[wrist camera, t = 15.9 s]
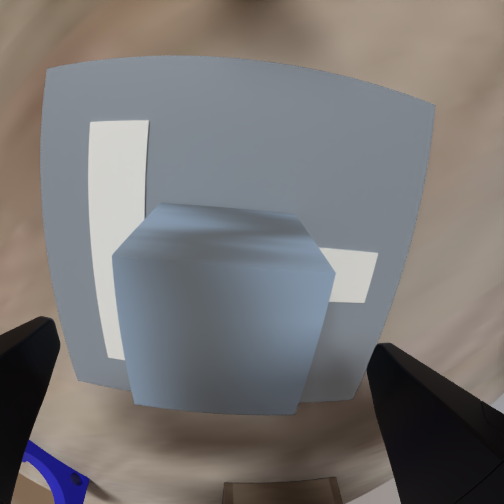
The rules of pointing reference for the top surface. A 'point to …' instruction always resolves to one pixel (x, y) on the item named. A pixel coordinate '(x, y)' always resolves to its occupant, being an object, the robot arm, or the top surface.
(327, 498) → the open brown box
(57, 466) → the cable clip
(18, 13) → the top surface
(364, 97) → the letter sheet
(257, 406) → the blue cube
